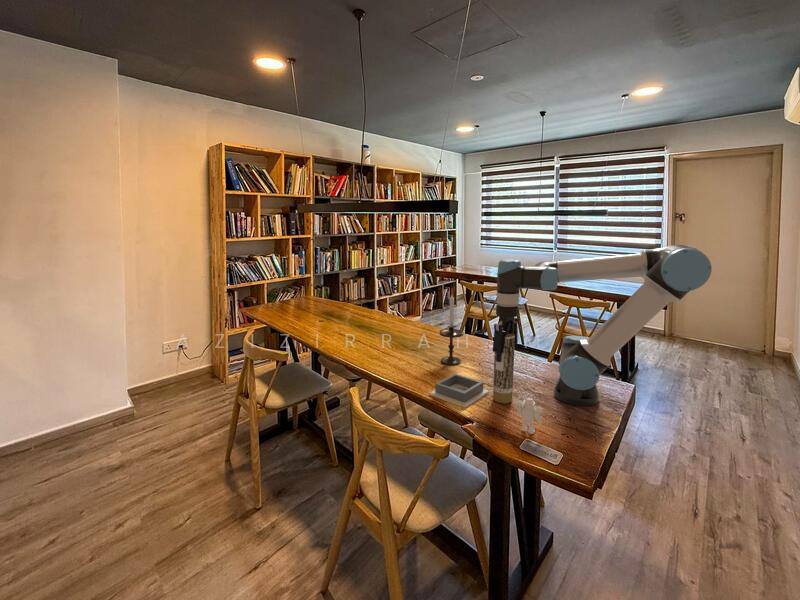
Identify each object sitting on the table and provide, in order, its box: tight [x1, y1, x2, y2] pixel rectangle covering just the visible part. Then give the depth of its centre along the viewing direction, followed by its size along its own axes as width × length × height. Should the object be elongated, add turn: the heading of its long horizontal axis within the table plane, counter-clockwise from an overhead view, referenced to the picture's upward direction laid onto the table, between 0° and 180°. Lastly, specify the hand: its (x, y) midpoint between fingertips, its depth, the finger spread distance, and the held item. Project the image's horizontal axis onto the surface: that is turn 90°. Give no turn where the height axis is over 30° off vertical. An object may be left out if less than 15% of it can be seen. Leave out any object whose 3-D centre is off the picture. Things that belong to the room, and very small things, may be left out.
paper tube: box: [492, 333, 516, 405], centre depth 142 cm, size 7×7×25 cm
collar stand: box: [429, 373, 490, 409], centre depth 149 cm, size 16×16×4 cm
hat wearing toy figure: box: [514, 393, 545, 435], centre depth 122 cm, size 9×4×12 cm, turn 48°
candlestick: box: [439, 287, 464, 366], centre depth 180 cm, size 11×11×35 cm
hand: (504, 366), depth 142 cm, fingers closed on paper tube, 7 cm apart
